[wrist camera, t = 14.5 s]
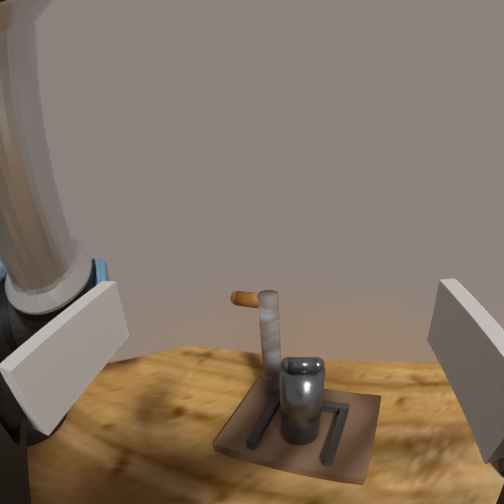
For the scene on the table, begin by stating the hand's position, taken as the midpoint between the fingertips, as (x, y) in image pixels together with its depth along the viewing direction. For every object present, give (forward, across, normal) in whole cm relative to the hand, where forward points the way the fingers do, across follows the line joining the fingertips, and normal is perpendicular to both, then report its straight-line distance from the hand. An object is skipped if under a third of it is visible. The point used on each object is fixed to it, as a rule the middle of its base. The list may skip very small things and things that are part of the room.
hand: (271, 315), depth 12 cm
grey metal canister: (+14, +1, -25) cm, 29 cm away
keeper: (+16, +2, -26) cm, 31 cm away
